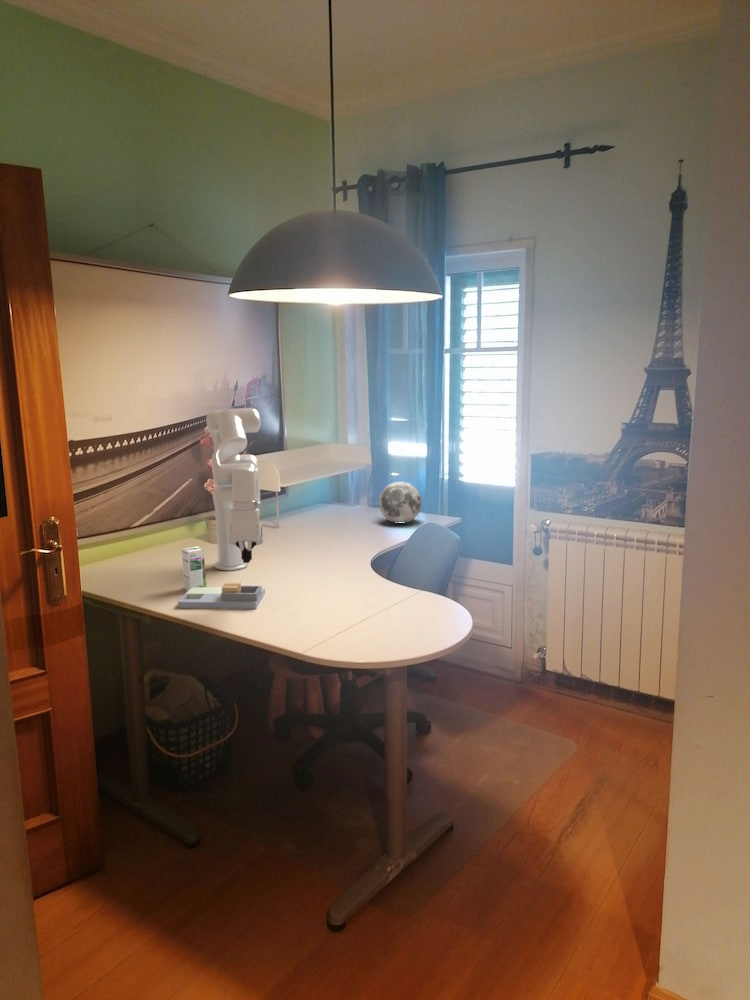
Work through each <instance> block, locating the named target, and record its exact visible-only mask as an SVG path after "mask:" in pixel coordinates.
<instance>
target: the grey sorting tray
mask: <svg viewBox="0 0 750 1000" xmlns="http://www.w3.org/2000/svg"><path fill="white" fill-rule="evenodd" d="M265 594H266V589H265V587H263V586H262V585H241V593H222V587H221V586H220V587H219V586H217V587H215V586H214V587H211V586H210V587H207V586H206V587H191V588H190V589H189V590H188V591H186V592H185V594H184V595H182V597H181V598H180V599H179V600H177V601H178V602H177V605H178V609H236V610H237V609H240V610H241V609H242V610H243V609H246V610H247V609H248V610H253V609H255V610H256V609H257V608H258V606H259V605H260V603H261V601H262V600H263V598H264V596H265Z"/></svg>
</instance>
